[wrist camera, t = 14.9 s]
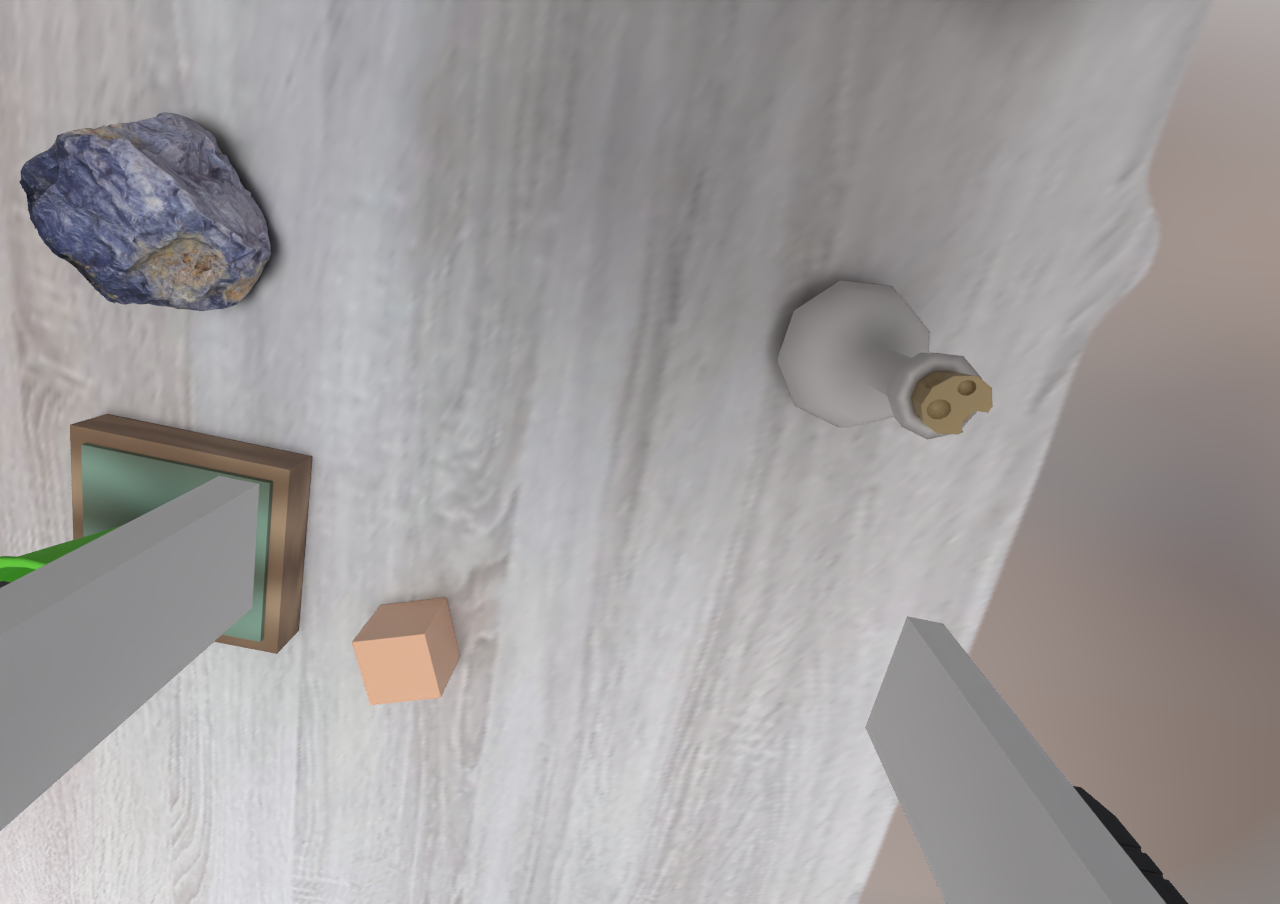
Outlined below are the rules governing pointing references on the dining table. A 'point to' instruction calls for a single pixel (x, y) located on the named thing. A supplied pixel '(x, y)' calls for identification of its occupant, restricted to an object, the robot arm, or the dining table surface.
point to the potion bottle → (876, 364)
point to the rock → (149, 213)
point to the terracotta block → (407, 651)
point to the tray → (179, 462)
